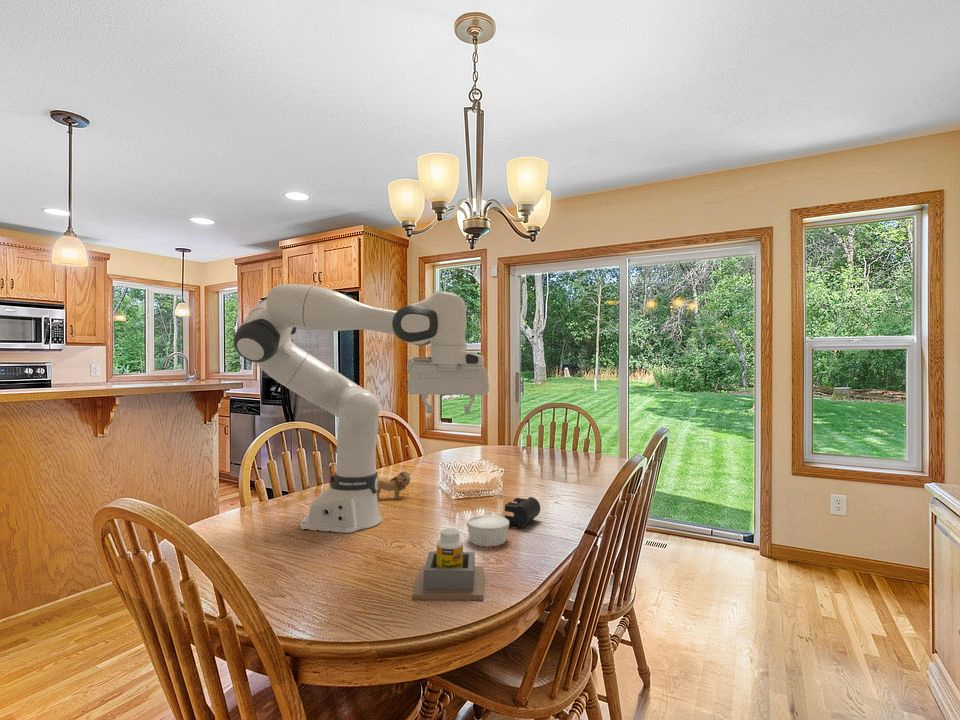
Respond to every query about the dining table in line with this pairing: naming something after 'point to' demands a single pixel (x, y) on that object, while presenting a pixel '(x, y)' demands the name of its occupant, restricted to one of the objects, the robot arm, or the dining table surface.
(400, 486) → the lion figurine
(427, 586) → the socket holder
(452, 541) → the supplement bottle
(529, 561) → the dining table surface
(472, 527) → the ramekin
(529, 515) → the end cap
